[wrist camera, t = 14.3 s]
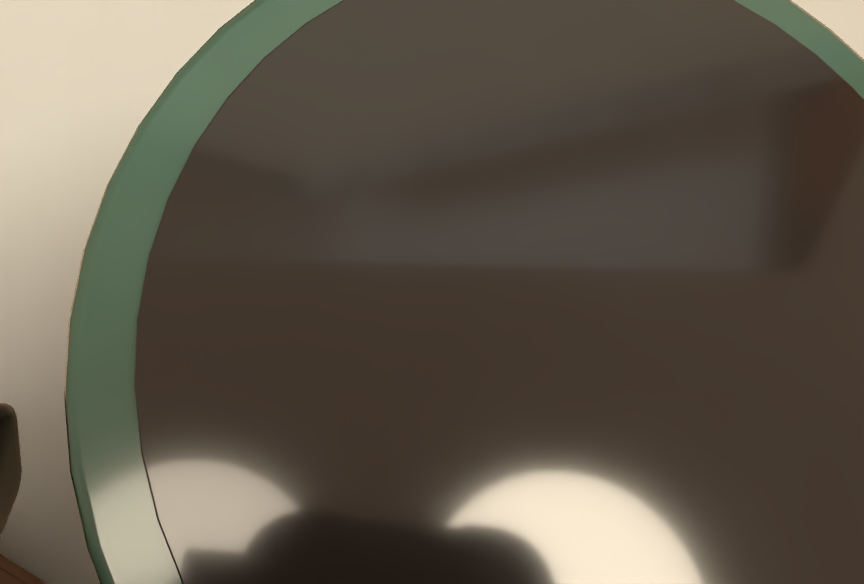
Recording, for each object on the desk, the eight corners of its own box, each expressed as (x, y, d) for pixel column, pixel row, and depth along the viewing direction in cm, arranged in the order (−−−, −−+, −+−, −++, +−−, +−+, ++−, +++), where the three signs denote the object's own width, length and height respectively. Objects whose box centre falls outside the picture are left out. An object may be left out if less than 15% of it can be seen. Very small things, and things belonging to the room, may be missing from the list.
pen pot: (583, 444, 17) (1199, 370, 6) (375, 672, 15) (655, 1280, 4) (387, 237, 17) (584, -238, 6) (159, 434, 15) (-214, 303, 4)
